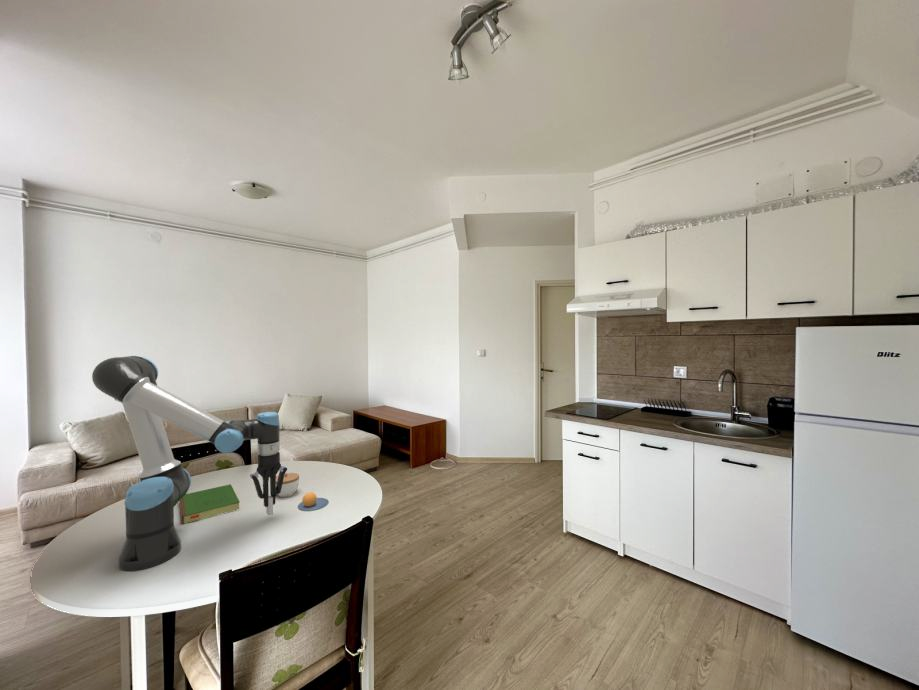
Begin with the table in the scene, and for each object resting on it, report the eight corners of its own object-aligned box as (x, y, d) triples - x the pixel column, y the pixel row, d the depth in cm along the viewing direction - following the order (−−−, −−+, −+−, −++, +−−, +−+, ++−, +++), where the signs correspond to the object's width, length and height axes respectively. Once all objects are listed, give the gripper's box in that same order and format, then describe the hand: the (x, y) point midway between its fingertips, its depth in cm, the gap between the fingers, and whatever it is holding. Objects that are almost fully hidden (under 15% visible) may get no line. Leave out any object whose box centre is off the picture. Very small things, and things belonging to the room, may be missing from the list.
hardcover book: (179, 504, 155) (179, 495, 155) (230, 492, 167) (230, 484, 167) (182, 527, 136) (182, 517, 136) (240, 511, 148) (240, 502, 148)
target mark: (304, 514, 144) (304, 513, 144) (293, 504, 153) (293, 504, 153) (333, 504, 153) (333, 503, 153) (320, 495, 161) (320, 495, 161)
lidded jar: (304, 489, 168) (303, 469, 168) (291, 499, 157) (290, 478, 157) (282, 489, 169) (281, 468, 169) (267, 499, 158) (267, 477, 158)
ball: (304, 509, 147) (307, 494, 148) (298, 504, 151) (301, 490, 152) (317, 507, 151) (320, 494, 152) (311, 503, 155) (314, 490, 155)
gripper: (253, 459, 133) (254, 523, 133) (290, 451, 142) (290, 511, 143) (247, 454, 138) (247, 516, 139) (282, 447, 148) (283, 505, 148)
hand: (269, 513), depth 141 cm, fingers closed
